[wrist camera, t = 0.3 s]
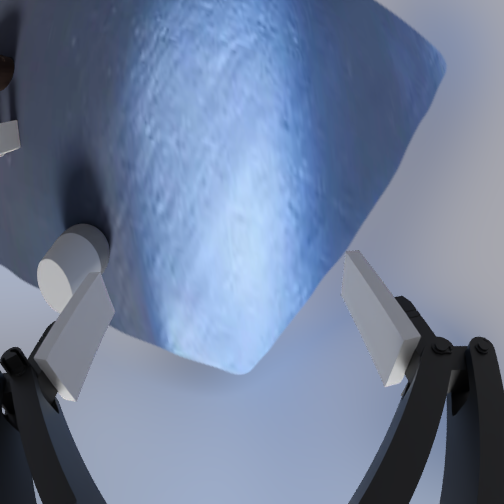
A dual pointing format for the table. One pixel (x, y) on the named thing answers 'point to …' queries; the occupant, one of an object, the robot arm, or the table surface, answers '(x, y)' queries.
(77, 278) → the smart speaker
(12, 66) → the coffee mug
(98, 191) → the table surface
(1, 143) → the tile
